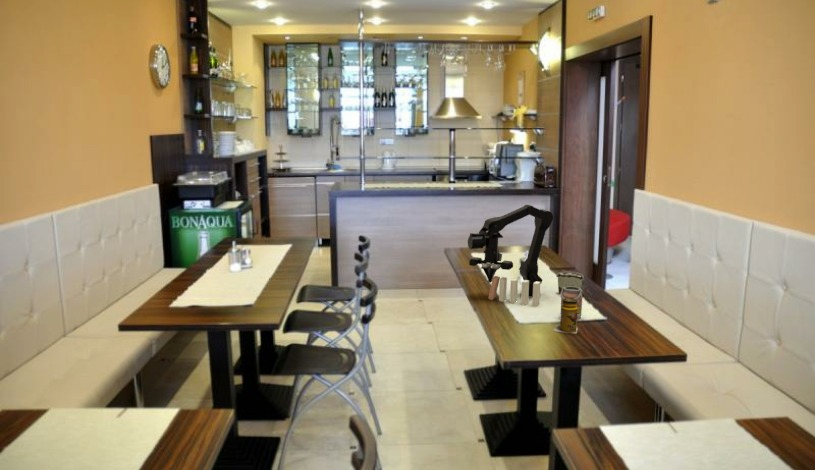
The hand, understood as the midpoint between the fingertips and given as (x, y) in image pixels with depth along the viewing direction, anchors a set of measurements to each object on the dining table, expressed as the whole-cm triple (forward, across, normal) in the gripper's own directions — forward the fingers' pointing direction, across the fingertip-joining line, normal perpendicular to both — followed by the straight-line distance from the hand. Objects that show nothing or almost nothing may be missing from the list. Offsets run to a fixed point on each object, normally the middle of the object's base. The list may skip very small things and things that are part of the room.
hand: (490, 282), depth 274 cm
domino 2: (+7, -6, 0) cm, 9 cm away
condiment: (+8, -40, +26) cm, 48 cm away
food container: (+8, -30, -25) cm, 40 cm away
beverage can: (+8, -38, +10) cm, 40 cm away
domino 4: (+8, -16, 0) cm, 18 cm away
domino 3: (+8, -11, 0) cm, 13 cm away
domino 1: (+7, -1, 0) cm, 7 cm away
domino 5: (+8, -21, 0) cm, 22 cm away
